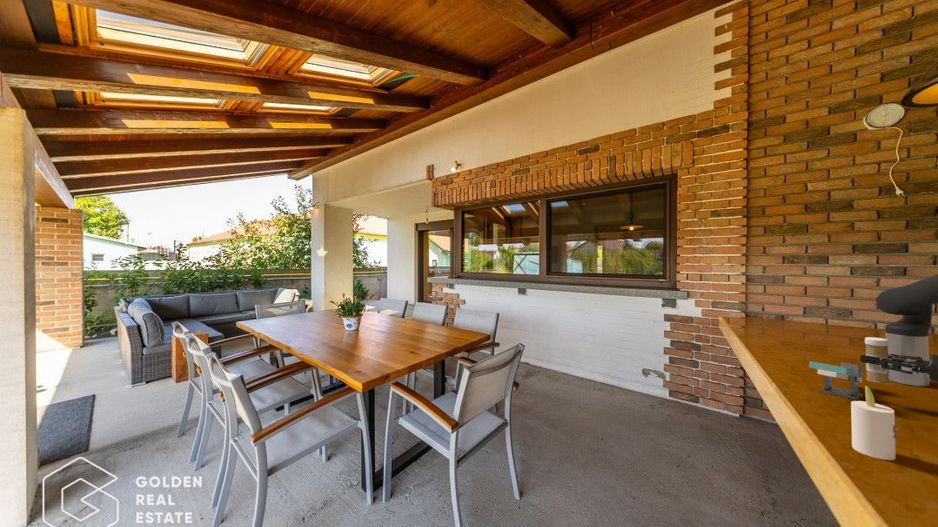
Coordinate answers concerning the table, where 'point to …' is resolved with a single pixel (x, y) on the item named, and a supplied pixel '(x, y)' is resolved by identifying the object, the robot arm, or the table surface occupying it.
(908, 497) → the table surface
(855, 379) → the pivot stand
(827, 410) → the table surface
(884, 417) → the candle
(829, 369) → the beam
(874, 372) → the sprinkles bottle
